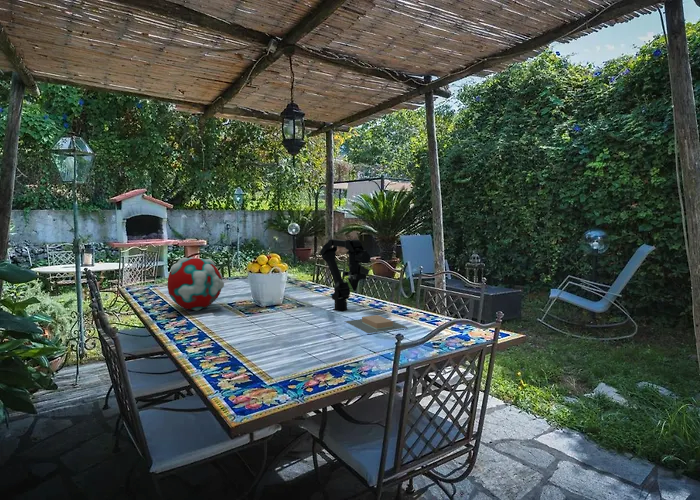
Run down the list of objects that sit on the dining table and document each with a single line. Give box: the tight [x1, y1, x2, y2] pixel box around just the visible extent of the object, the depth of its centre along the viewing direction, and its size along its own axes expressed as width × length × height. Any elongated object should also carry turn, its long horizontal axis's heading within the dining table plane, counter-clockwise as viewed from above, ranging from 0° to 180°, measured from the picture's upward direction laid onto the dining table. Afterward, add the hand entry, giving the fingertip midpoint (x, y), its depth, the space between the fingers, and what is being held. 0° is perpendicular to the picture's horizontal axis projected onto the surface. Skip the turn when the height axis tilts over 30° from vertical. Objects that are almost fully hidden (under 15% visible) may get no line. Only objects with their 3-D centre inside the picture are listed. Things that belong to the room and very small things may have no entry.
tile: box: [361, 314, 393, 330], centre depth 201 cm, size 3×9×14 cm
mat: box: [344, 318, 409, 336], centre depth 203 cm, size 24×22×1 cm
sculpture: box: [166, 257, 225, 311], centre depth 237 cm, size 32×30×30 cm
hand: (354, 290), depth 226 cm, fingers closed
